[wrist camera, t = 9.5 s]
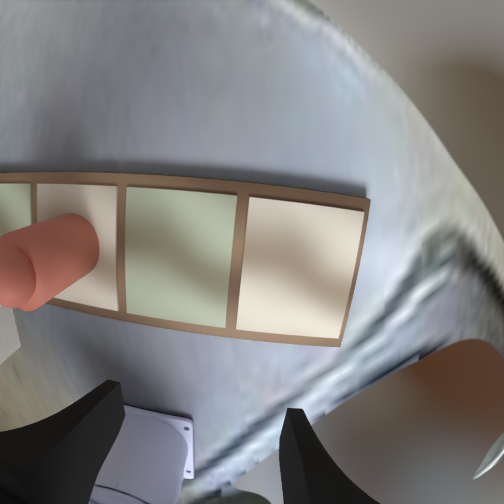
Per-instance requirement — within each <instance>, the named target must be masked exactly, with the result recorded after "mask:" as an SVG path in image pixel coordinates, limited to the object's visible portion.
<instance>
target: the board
mask: <svg viewBox="0 0 504 504" xmlns="http://www.w3.org/2000/svg"><path fill="white" fill-rule="evenodd" d="M370 201H371V199H368V198H363V197H356V196H350V195H344V194H337V193H331V192H324V191H317V190H309V189H302V188H294V187H286V186H278V185H270V184H261V183H252V182H242V181H232V180H222V179H210V178H198V177H185V176H170V175H154V174H134V173H108V172H9V173H0V237H1V236H2V235H4V234H6V233H8V232H11V231H14V230H17V229H20V228H23V227H26V226H29V225H32V224H35V223H38V222H42V221H45V220H48V219H51V218H54V217H58V216H61V215H64V214H69V213H73V214H77V215H80V216H82V217H83V218H85V219H86V220H87V221H88V222H89V223H90V224H91V225H92V227H93V228H94V230H95V232H96V235H97V237H98V241H99V249H100V250H99V259H98V262H97V264H96V266H95V268H94V269H93V270H92V271H91V272H90V273H89V274H87V275H86V276H84V277H83V278H81V279H80V280H78V281H77V282H75V283H74V284H72V285H71V286H69V287H68V288H66V289H65V290H63V291H62V292H60V293H59V294H58V295H56V296H55V297H53V298H52V299H50V300H49V301H47V302H46V304H50V305H54V306H58V307H62V308H66V309H71V310H75V311H79V312H84V313H88V314H93V315H97V316H102V317H107V318H112V319H117V320H122V321H127V322H132V323H137V324H143V325H149V326H154V327H160V328H166V329H172V330H179V331H185V332H192V333H199V334H206V335H213V336H221V337H229V338H237V339H246V340H255V341H264V342H275V343H286V344H298V345H311V346H327V347H340V346H341V342H342V338H343V335H344V331H345V327H346V323H347V319H348V315H349V310H350V306H351V302H352V297H353V293H354V289H355V284H356V279H357V274H358V270H359V265H360V260H361V254H362V249H363V244H364V238H365V232H366V227H367V221H368V214H369V208H370Z"/></svg>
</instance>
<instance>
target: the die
mask: <svg viewBox="0 0 504 504" xmlns="http://www.w3.org/2000/svg"><path fill="white" fill-rule="evenodd" d="M20 347H21V344H20V340H19V336H18V332H17V327H16V323H15V318H14V313H13V308H8V307H4V306H2V305H0V364H1V363H2V362H4V361H5V360H6V359H7V358H8V357H9V356H10V355H12V354H13V353H14V352H15V351H16V350H17V349H18V348H20Z"/></svg>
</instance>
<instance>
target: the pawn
mask: <svg viewBox="0 0 504 504" xmlns="http://www.w3.org/2000/svg"><path fill="white" fill-rule="evenodd" d="M99 250H100V249H99V241H98V237H97V235H96V232H95V230H94V228H93V227H92V225H91V224H90V223H89V222H88V221H87V220H86V219H85V218H83V217H82V216H80V215H77V214H73V213H69V214H64V215H61V216H58V217H54V218H51V219H48V220H45V221H42V222H38V223H35V224H32V225H29V226H26V227H23V228H20V229H17V230H14V231H11V232H8V233H6V234H4V235H2V236H1V237H0V305H2V306H4V307H8V308H15V307H17V308H19V309H21V310H23V311H34V310H36V309H38V308H39V307H40V306H42V305H43V304H45V303H46V302H47V301H49V300H50V299H52V298H53V297H55V296H56V295H58V294H59V293H60V292H62V291H63V290H65V289H66V288H68V287H69V286H71V285H72V284H74V283H75V282H77V281H78V280H80V279H81V278H83V277H84V276H86V275H87V274H89V273H90V272H91V271H92V270H93V269H94V268H95V266H96V264H97V262H98V259H99Z"/></svg>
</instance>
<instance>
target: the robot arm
mask: <svg viewBox="0 0 504 504" xmlns="http://www.w3.org/2000/svg"><path fill="white" fill-rule="evenodd" d="M187 427H188V428H187ZM279 462H280V472H281V481H282V490H283V499H284V504H380V503H378V502H377V501H375V500H374V499H373V498H371V497H370V496H368V495H367V494H366V493H365V492H364V491H362V490H361V489H360V488H359V487H358V486H357V485H355V484H354V483H353V482H352V481H351V480H350V479H349V478H348V477H347V476H346V475H345V474H344V473H343V472H342V470H341V469H340V468H339V467H338V466H337V465H336V463H335V462H334V461H333V459H332V458H331V457H330V455H329V454H328V453H327V451H326V450H325V448H324V447H323V445H322V444H321V442H320V441H319V439H318V437H317V436H316V434H315V432H314V430H313V429H312V427H311V425H310V423H309V421H308V419H307V417H306V415H305V413H304V411H303V410H302V409H297V408H287V412H286V416H285V420H284V424H283V427H282V431H281V435H280V441H279ZM183 478H188V479H193V478H194V446H193V421H192V420H190V419H188V418H182V417H177V416H171V415H166V414H161V413H157V412H152V411H147V410H143V409H139V408H135V407H131V406H127V405H124V404H123V398H122V392H121V386H120V383H119V382H115V381H112V380H106V381H105V382H103V383H102V384H101V385H99V386H98V387H96V388H95V389H94V390H92V391H91V392H89V393H88V394H86V395H85V396H84V397H82V398H81V399H79V400H78V401H76V402H75V403H73V404H71V405H70V406H68V407H66V408H65V409H63V410H61V411H60V412H58V413H56V414H54V415H52V416H50V417H48V418H45V419H43V420H41V421H38V422H36V423H33V424H30V425H27V426H24V427H21V428H17V429H13V430H8V431H3V432H0V504H177V503H178V499H179V495H180V490H181V486H182V482H183Z"/></svg>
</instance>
